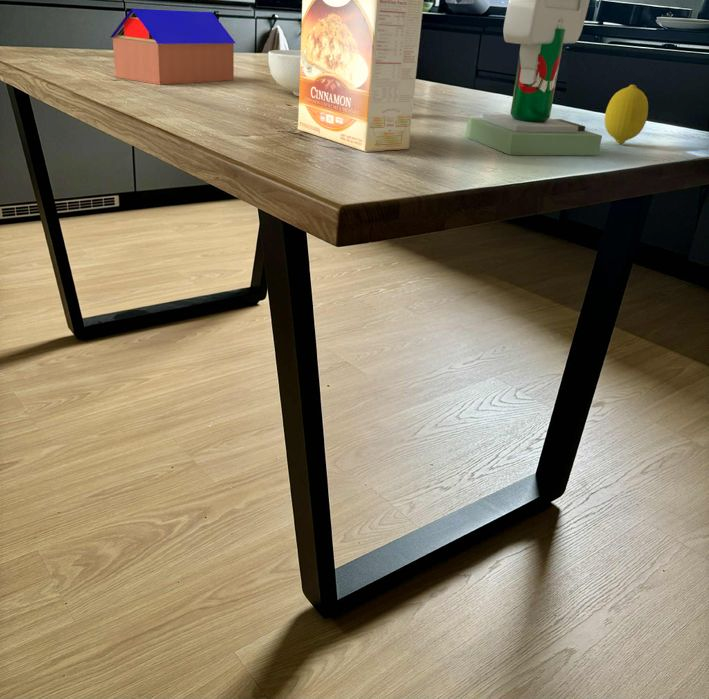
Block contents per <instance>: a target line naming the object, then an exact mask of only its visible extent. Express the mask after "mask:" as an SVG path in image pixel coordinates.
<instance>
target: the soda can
mask: <svg viewBox="0 0 709 699" xmlns="http://www.w3.org/2000/svg"><path fill="white" fill-rule="evenodd" d="M563 22H564V20H558V25H557V27H556V29H555V35H554V39H553V41H552V43H550V44H542V45H541V51H540V54H538V65H537V69H539V72H538V76H537V82H536V83H534V84H522V83H521V82H520V73H521V62H520V54H519V55H518V61H517V69H516V73H515V81H514V88H513V94H512V102H511V108H510V115H512V117H513V118H514V119H516V120H520V121H526V122H545V121H547V120H548V119H549V118H551V113H552V108H553V103H554V102H553V101H554V98H555V93H556V92H555V91H556V85H557V81H558V74H559V69H560V62H561V58H562V51H563V48H564V47H563V45H564V44H563V41H564V36H565V27H564V25H563Z"/></svg>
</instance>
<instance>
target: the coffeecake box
mask: <svg viewBox="0 0 709 699" xmlns="http://www.w3.org/2000/svg"><path fill="white" fill-rule="evenodd" d="M424 2H425V1H424V0H302V1H301V4H302V5H301V29H300V31H301V33H300V34H301V35H300V50H301V58H300V87H299V96H298V115H297V116H298V118H297V120H298V122H297V130H299V131H301V132H304V133H308V134H310V135H314V136H316V137H318V138H319V137H320V138H321V139H322V138H323V139H325V140H329V141H331V142H334V143H338V144H340V145H343V146H346V147H350V148H353V149H356V150H359V151H361V152H365V153H372V152H383V151H395V150H397V151H398V150H408V149H409V148H410V137H411V128H412V120H413V119H412V118H413V110H414V109H413V108H414V99H415V88H416V81H417V80H416V78H417V69H418V58H419V51H420V50H419V49H420V41H421V40H420V39H421V31H422V30H421V29H422V20H423V10H424Z"/></svg>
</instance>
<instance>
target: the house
mask: <svg viewBox="0 0 709 699" xmlns="http://www.w3.org/2000/svg"><path fill="white" fill-rule="evenodd" d="M110 38H112V46H113V48H112V50H113V59H114V60H113V61H114V74H115V76H114V77H115V78H118V79H124V80H130V81H136V82H143V83H148V84H154V85H159V86H161V85H174V84H175V85H176V84H190V83H204V82H205V83H207V82H220V81H221V82H222V81H223V82H224V81H234V79H235V78H234V76H235V75H234V74H235V72H234V69H235V68H234V66H235V65H234V63H235V62H234V60H235V59H234V55H235V54H234V53H235V52H234V51H235V50H234V49H235V48H234V46H235V45H234V44H236V41H235V40H234V38H233V37H232V36H231V35H230V33H229V32H228V30H227V29H226V28H225V27H224V26H223V24H222V23H221V22H220V20H219V19H218V18H217V16H216V15H215V14H214V13H213V11H196V10H195V11H194V10H193V11H192V10H172V9H171V10H169V9H168V10H167V9H146V8H130V10H129V11H128V12H127V14H126V15H125V17H124V18H123V19H122V20H121V22H120V24H119V25H118V26H117V27H116V29H115V30H114V31H113V32H112V34H111V36H110Z"/></svg>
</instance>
